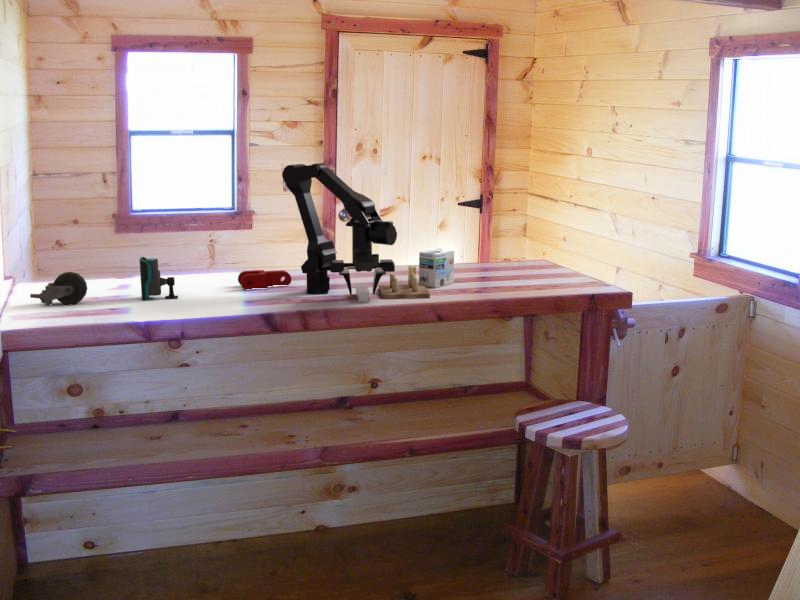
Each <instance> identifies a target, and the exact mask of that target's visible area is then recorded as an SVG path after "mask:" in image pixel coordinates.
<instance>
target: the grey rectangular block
mask: <svg viewBox="0 0 800 600" xmlns="http://www.w3.org/2000/svg"><path fill="white" fill-rule="evenodd" d="M355 296H356V299H357V301H358V304H363V303H364V304H368V303H369V304H370V290H369V289H368V285H367V284H366V283H355Z"/></svg>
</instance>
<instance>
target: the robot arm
mask: <svg viewBox="0 0 800 600" xmlns="http://www.w3.org/2000/svg"><path fill="white" fill-rule="evenodd" d="M281 176H282V179H283V181H284V183H285V187H286V188H287V189H288V190H289V192H290V193H292V194H293V197H294V198H295V202H296V204H297V209H298V211H299V216H300V218H301V221H302V225H303V228H304V230H305V231H304V232H305V235H306V237H307V247H306V254H307V255H306V256H307V259H306V260H305V261H304V262H303V263H302V264H301V266H300V268H301V272H302V274H304V275H305V274H306V289H305V290H306V294H309V295H311V294H316V295H317V294H329V291H330V289H331V288H330V284H331V283H330V279H331V278H330V275H329V274H328V272H329V271H330V273H333V274H335V273H338V275H339V276H343V278H344V281H345V282H346V285H347V288H348V292H349V294H350V296H353V295H352V290H353V289H352V283H351V274H350V270H355V272H358V273H360V272H368V273H371V272H372V271H373V270H374V271H373V280H372V281H373V282H372V295H373V296H375V294H376V291H377V289H378V286H379V282H380V280H381V278H382V276H383V275H384V276H385V275H386V274H387V273H389V272H390V273H394V272H396V271H395V270H396V269H395V268H396V264H395V262H394V261H393V260H392V259H389V258H387V259H380V255H379V253H373V244H375V245H385V246H393V245H395V244H396V241H397V237H398V232H397V229H396V227H395V225H394V222H393V221H392V220H388V221H387V220H386V221H385V220H383V218H382V217H381V215H380V214H379V212H378V210H377V208H376V204H375V202H374V200H372V199H371V198H369V197H367V196H366V195H364V194H362V193H359V192H357V191H356V190H353V188H351V187H350V186H349V185H348V184H347V183H346V182H345V181H343V180H342V178H340V177H339V176H338V175H337V174H336V173H335V172H334V171H332V170H331V168H329V166H328V165H327V164H326V163H324V162H317V163H312V164H309V165H306V164H304V163H298V164H289V165H286V166H285V167H284V168H283V171H282V172H281ZM313 178H314V179H316V180H317V181H318V182H320V184H321V185H323V186H324V187H325V188H326V189H328V191H329V192H331V193H332V194H333V195H334V196H335V197H336V198H337V199H338V200H339V201H340V202H341V203H342V204H343V208H344V210H345V212H347V214H348V215H349V216H350V219H349V220H348V221H347V222H346V223H345V226H346V227H351V230H352V233H351V236H352V239H351V240H352V244H351V245H352V251H351V252H352V254H351V255H352V256H351V258H352V261H351V262H345V261H344V260H343V259H337V255H336V254H338V252H337V251H336V248H335V243H334V241H333V240H328V239H327V238H326V237H325V236H324V233H323V228H322V226H321V223H320V219H319V215H318V213H317V209H316V206H315V202H314V200H313V197H312V192H311V188H312V183H313Z"/></svg>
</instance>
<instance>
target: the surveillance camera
mask: <svg viewBox="0 0 800 600" xmlns="http://www.w3.org/2000/svg"><path fill="white" fill-rule="evenodd" d="M139 272H140V274H139V275H140V290H141V291H140V292H141V301H146V300H147V299H150V297H152V296H153V297H155V296H161V294H162V286H166V285H167V286H168V288H169V289H168V290H169V293H168V295H165V296H164V300H178V298H179V295H175V292H174V286H175V284H176V283H175V282H176V281H175V277H173V276H172V277H171V276H169V277H167V278H164V277H161V271H160V270H159V259H158V258H147V257H145V256H141V257H140V258H139Z"/></svg>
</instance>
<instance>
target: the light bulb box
mask: <svg viewBox="0 0 800 600" xmlns="http://www.w3.org/2000/svg"><path fill="white" fill-rule="evenodd" d="M418 253H419V255H418V256H419V258H418V263H419V265H418V285H424V286H425V287H426V288H427V287H429V288H432V289H433V288H435V289H436V288H440V287H443V286H448V285H451V284H452V285H453V284H454V283H455V281H454V280H455V279H454V276H455V275H454V274H455V273H454V271H455V268H454V267H455V250H451V249H443V248H439V247H437V248H435V249H428V250H424V251H419V252H418Z"/></svg>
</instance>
